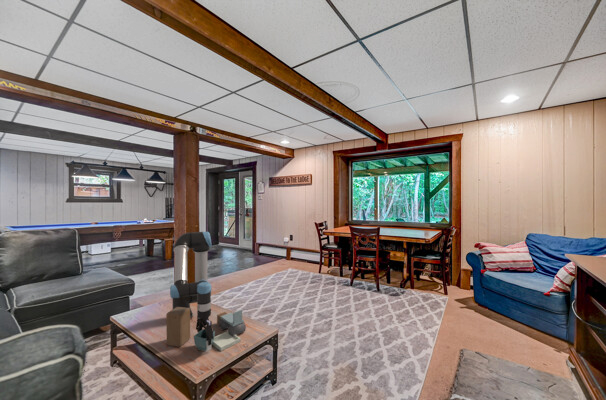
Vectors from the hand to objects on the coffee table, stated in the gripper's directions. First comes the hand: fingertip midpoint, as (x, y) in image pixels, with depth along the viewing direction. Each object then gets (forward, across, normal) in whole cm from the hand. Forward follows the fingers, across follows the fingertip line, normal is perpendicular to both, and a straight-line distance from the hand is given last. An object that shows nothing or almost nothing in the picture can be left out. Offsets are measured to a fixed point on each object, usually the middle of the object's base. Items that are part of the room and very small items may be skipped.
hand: (204, 346), depth 152 cm
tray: (+1, +3, +12) cm, 12 cm away
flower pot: (+2, 0, 0) cm, 2 cm away
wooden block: (+2, -18, -8) cm, 20 cm away
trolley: (+1, -6, +22) cm, 23 cm away
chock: (+1, -18, +22) cm, 29 cm away
